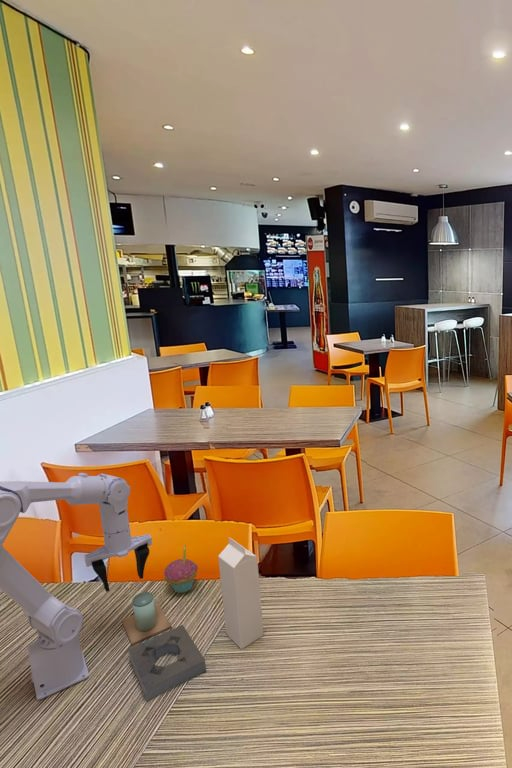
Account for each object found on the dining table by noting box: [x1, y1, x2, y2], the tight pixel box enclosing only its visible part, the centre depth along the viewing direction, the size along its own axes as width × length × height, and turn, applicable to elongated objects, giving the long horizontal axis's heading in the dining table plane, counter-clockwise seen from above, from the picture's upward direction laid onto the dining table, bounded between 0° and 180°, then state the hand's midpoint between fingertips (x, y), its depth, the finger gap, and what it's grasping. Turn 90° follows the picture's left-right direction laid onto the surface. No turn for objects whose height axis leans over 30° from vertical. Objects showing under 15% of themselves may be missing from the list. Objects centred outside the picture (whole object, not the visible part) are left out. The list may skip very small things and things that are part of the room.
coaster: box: [120, 604, 173, 647], centre depth 103 cm, size 9×9×1 cm
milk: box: [217, 537, 264, 650], centre depth 95 cm, size 6×6×22 cm
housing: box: [127, 624, 207, 702], centre depth 91 cm, size 12×12×2 cm
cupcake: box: [163, 544, 199, 594], centre depth 114 cm, size 9×8×12 cm
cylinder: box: [131, 591, 157, 631], centre depth 102 cm, size 5×5×6 cm
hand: (124, 582), depth 102 cm, fingers open, 7 cm apart
